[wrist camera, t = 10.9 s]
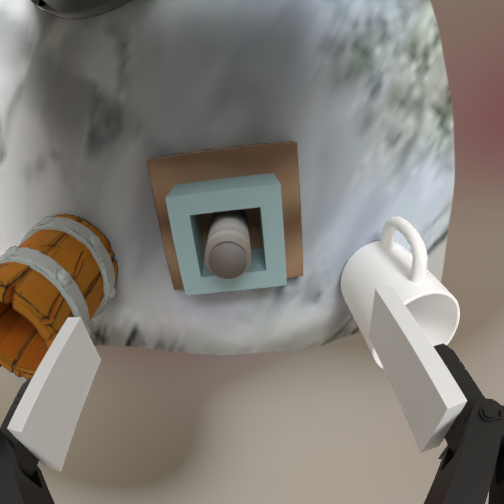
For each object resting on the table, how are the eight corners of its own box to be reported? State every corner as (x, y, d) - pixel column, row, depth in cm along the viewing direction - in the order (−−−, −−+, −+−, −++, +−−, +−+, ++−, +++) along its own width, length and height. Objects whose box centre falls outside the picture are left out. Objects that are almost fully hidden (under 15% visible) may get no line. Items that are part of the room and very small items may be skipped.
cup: (337, 313, 33) (367, 381, 24) (337, 205, 28) (383, 253, 19) (405, 300, 33) (447, 359, 24) (415, 198, 28) (478, 239, 19)
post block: (151, 158, 26) (115, 182, 17) (293, 141, 26) (320, 156, 17) (176, 281, 31) (159, 342, 23) (300, 268, 31) (321, 326, 23)
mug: (143, 271, 30) (91, 386, 17) (58, 337, 33) (8, 428, 20) (73, 187, 26) (-32, 257, 13) (0, 274, 29) (-71, 350, 16)
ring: (175, 184, 25) (165, 197, 22) (273, 172, 25) (280, 184, 22) (191, 271, 29) (185, 295, 25) (280, 262, 29) (286, 285, 25)
